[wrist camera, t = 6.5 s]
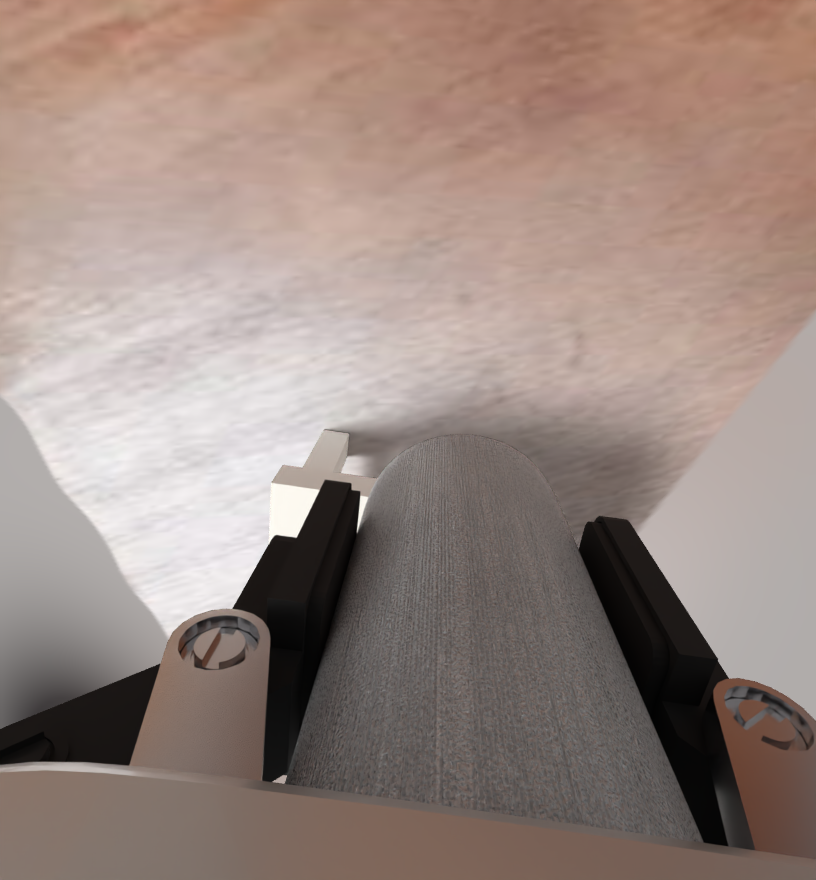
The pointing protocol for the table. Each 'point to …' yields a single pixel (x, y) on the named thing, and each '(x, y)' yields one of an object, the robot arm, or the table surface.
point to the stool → (312, 484)
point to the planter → (481, 658)
